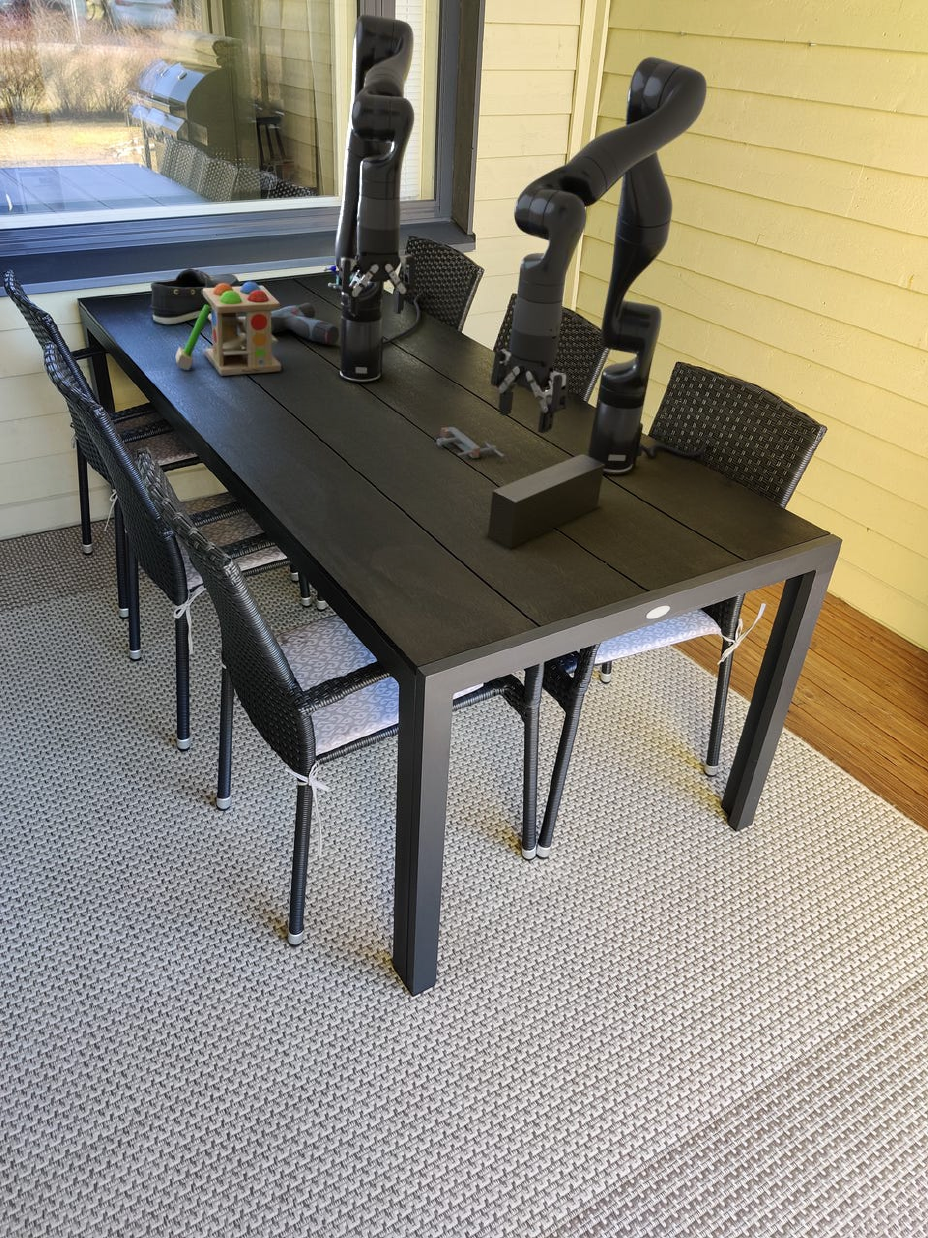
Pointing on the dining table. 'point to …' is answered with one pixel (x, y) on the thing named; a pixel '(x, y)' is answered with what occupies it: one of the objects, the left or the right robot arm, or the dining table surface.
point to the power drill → (304, 324)
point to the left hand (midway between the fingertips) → (376, 314)
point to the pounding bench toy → (229, 347)
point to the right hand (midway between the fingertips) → (524, 422)
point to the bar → (545, 500)
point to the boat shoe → (184, 295)
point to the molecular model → (333, 269)
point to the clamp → (464, 443)
